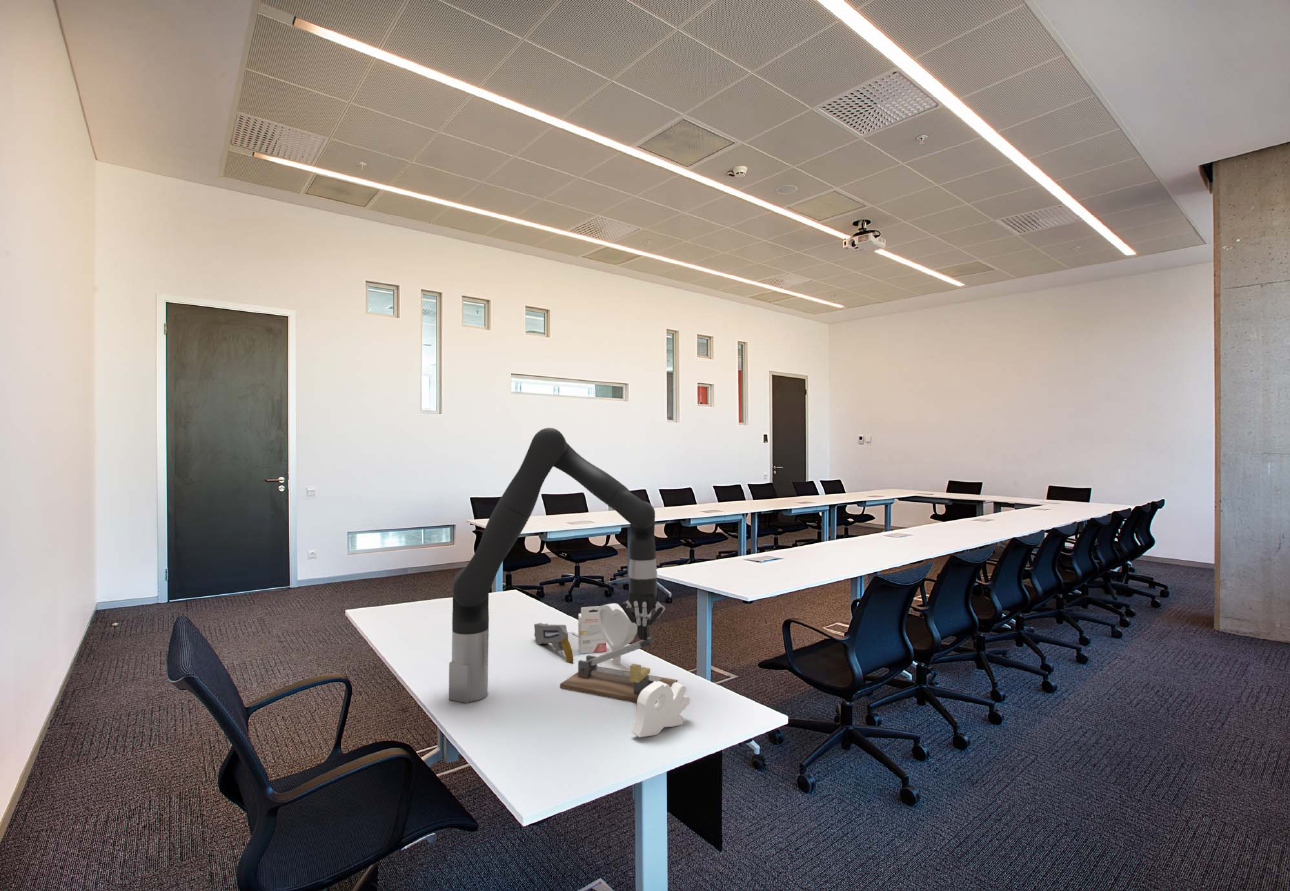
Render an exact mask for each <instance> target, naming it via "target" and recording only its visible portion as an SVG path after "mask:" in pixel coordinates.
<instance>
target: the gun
mask: <svg viewBox="0 0 1290 891" xmlns="http://www.w3.org/2000/svg"><path fill="white" fill-rule="evenodd" d="M533 625H534V628H533V629H534V635H533V636H534V638H535V642H536V644H537V645H539V646H540V645H545V644H550V643H551V644H552V648H554V649H555V651H556V652H564V655H565V661H566V663H568V664H571V663H574V654H573V648H572V645H571V643H570V641H569V632H568V630H567V625H566V624H549V623H543V622H538V623H534V624H533Z"/></svg>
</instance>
